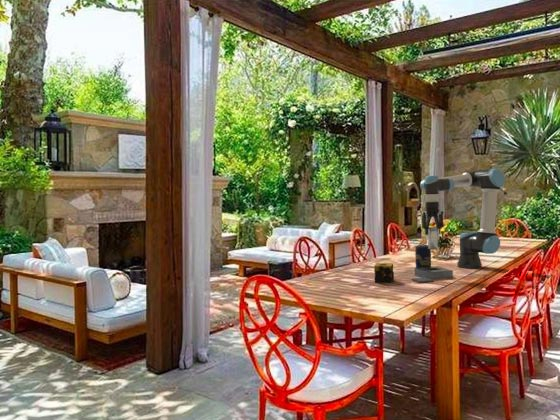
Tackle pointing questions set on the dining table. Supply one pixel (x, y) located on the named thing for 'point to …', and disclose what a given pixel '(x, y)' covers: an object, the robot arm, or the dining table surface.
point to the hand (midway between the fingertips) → (432, 239)
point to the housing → (433, 272)
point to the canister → (422, 256)
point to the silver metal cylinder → (433, 238)
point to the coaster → (422, 280)
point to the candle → (384, 272)
